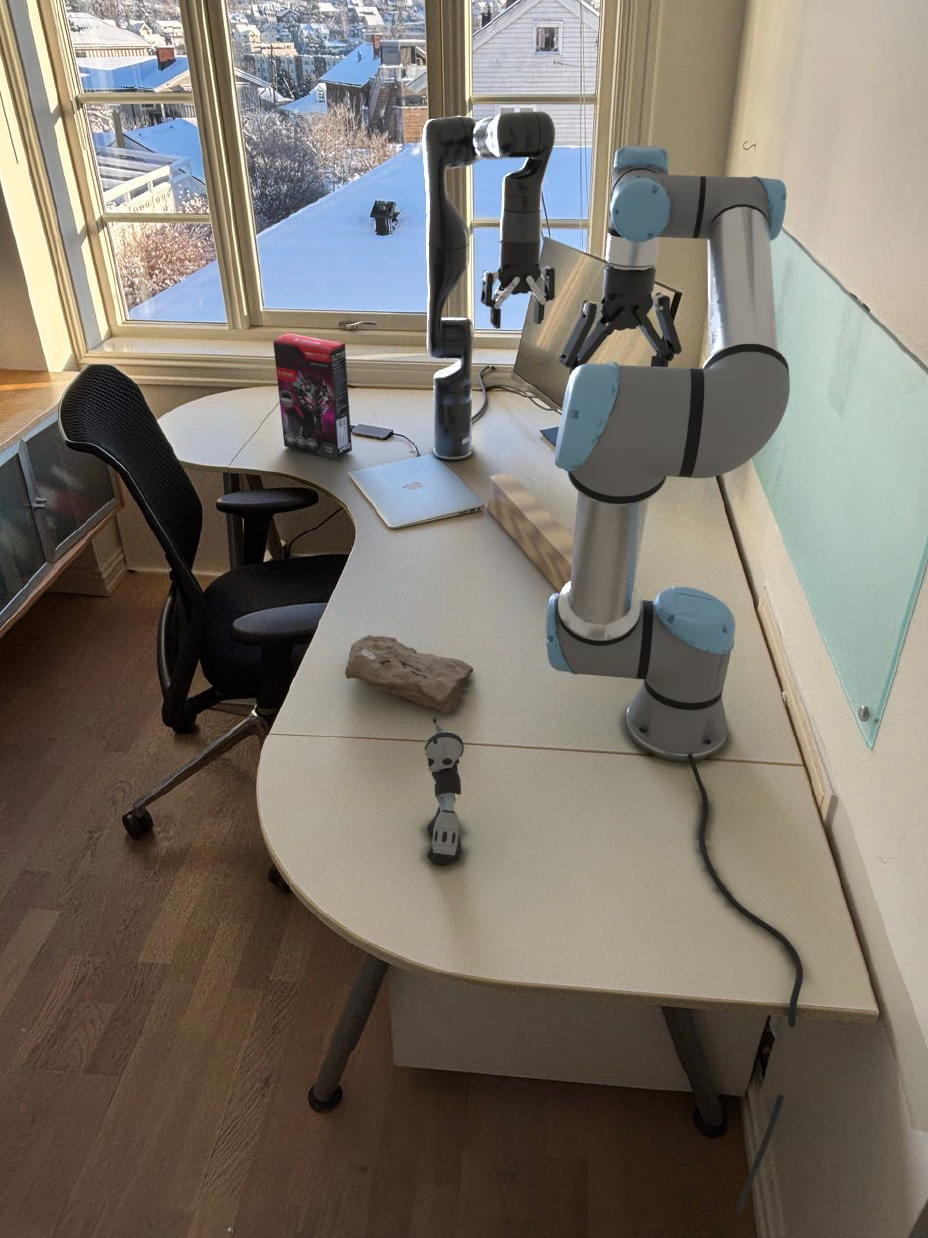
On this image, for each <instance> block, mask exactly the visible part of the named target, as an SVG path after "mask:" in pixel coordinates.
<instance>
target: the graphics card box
mask: <svg viewBox="0 0 928 1238" xmlns="http://www.w3.org/2000/svg"><path fill="white" fill-rule="evenodd" d="M272 344H273V345H272V346H273V349H274V350H273V353H274V361H275V362H274V363H275V371H276V380H277V381H276V382H277V390H278V398H279V399H278V400H279V408H280V417H281V418H280V419H281V428H282V435H283V436H282V437H283V446H284V447H285V448H289V449H294V450H298V451H302V452H306V453H311V454H315V455H319V456H323V457H328V458H333V459H336V460H338V459H339V460H340V458H342V457H344V456H346V455H347V454H349V453H350V452H352V451H353V446H352V429H351V415H350V402H349V401H350V400H349V385H348V370H347V356H346V343H345V342H339V341H338V342H337V341H333V340H327V339H321V338H317V337H311V336H305V335H300V334H295V333H289V332H288V333H285V334H282V335H280V336H279V337H277V338H276V339H274V340H273V342H272Z"/></svg>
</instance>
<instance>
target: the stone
mask: <svg viewBox="0 0 928 1238" xmlns="http://www.w3.org/2000/svg"><path fill="white" fill-rule="evenodd" d="M348 656H349V657H348V660H347V665H346V667H345V672H344V675H345V677H346V678H347V679H358V680H361V681H362V682H364V683H365V685H366V686H367V687H369V688H372V689H379V690H380V691H381V692H385V693H389V694H390V693H391V694H392V693H393V694H395V695H396V696H399V697H401V698H405V699H407V700H408V701H409V700H410V701H412V702H414V703H415V704H418V705H420V706H426V707H433V708H434V709H436V710H438V711H440V712H442V713H445V714H449V713H453V712H454V710H456V708H457V707H458V704H459V702H460V699H461V693H462V691H463V690H464V687H465V686H466V683H467V682H468V680H469V679H470V676H471V675H472V673H473V672H474V668H473V667H472V666H471V665H470V664H468V663H467V662H465V661H463V660H460V659H457V658H451V657H450V658H449V657H444V656H437V655H435V654H433V653H422V652H418V651H417V650H416V649H415V648H413V647H407V646H406V645H404V644H403V643H402V642H399V641H398V640H397V638H395V637H390V636H385V635H379V636H378V635H371V634H368V635H366V636H363V637H361V638H360V639H358V640H356V641H354V642H353V644H351V647H350V650H349V652H348Z"/></svg>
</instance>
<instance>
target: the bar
mask: <svg viewBox="0 0 928 1238" xmlns="http://www.w3.org/2000/svg"><path fill="white" fill-rule="evenodd" d="M487 499H488V501H487V502H488V503H487V510H488V512H490V514H491V515H492V516H493V517H494V519H496V520H497V522H498V523H499V524H500V525H501V526H502V528H503V529H504V530H505V531H506V532H507V534H509V536H510V537H511V538H512V539H513V540H514V541H515V542H516V544H517V545H518V546H519V547H520V548H521V549H522V551H523V552H524V553H525V554H526V555H527V556H528V558H529V559H530V560H531V561H532V562H533V563H534V564H535V566H536V567H537V568H538V569H539V570H540V571H541V573H542V574H543V575H544V576H545V577H546V578H547V579H548V581H549V583H551V584H552V585H553V587H554V588H555V589H556V590H557V591H558V593H560V592H561V591H562V589H563V588H564V587H565V585H566V584H567V583H568V582H570V581H571V569H572V557H573V545H574V536H573V535H571V533H569V532H568V530H567V529H566V528H564V526H563V525H562V524H560V522H559V521H558V520H557V519H556V517H555V518H554V517H553V515H552V514H551V513H550V512H549V511H548V510H547V509H546V508H545V507H544V506H543V505H542V504H541V503H540V502H539V501H538V500H537V499H536V498H535V496H533V494H531V493H530V492H529V491H528V490H527V488H525V486H523V485H522V483H520V481H519V480H518V479H516V477H514V475H513V474H512V473H511V472H508V473H500V474H494V475H488V498H487Z"/></svg>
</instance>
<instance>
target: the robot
mask: <svg viewBox="0 0 928 1238" xmlns="http://www.w3.org/2000/svg"><path fill="white" fill-rule="evenodd" d="M432 723H433V725H434V728H435V731H436V733H434V734H432V735H431V736H430V737H429V738H428V739H426V742H425V745H424V747H423V749H424V752H425V753H424V755H425V757H426V758H427V769H428V770H429V771H430V772H431V776H432V779H433V780H434V782H435V783H434V797H435V798H436V800H437V803H438V805H439V806H438V808H437V810H436V811H435V814H434V817H433V819H432V820H431V821H430V822H429V823H428V825H427V827H426V830H427V833H428V835H429V837H430V838H432V841H431V846H430V847H429V850H428V852H427V858H428V860H430V861H431V862H432V864H434V865H437V866H441V867H442V866H448V865H450V864H453V863H455V862H457V861H459V860H460V856H461V854H462V846H461V841H460V837H459V836H460V833H461V830H460V820H459V815H458V813H456V811H455V807H454V805H455V803H456V795H457V796H459V795H462V782H461V781H462V780H461V776H460V774H459V769H458V768H459V767H458V765H459V764H460V758H462V755H463V754H464V749H465V746H464V745H465V744H464V741H463V739H462V738H461V737H460V736H459V734H457V733H455V732H453V731H451V730H443V729H442V727H441V725H440V723H439V721H438V720H437V718H436V717H433V718H432Z"/></svg>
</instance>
